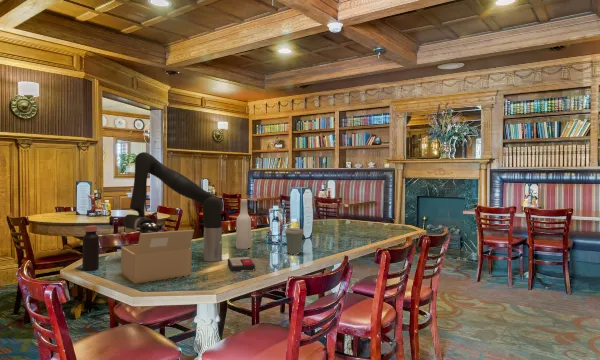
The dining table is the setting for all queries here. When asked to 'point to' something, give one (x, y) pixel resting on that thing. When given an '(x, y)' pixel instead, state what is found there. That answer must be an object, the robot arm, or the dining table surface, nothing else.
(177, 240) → the carton flap
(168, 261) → the carton
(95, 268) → the bottle
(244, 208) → the alcohol
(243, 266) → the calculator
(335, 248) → the dining table surface
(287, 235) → the disposable coffee cup
